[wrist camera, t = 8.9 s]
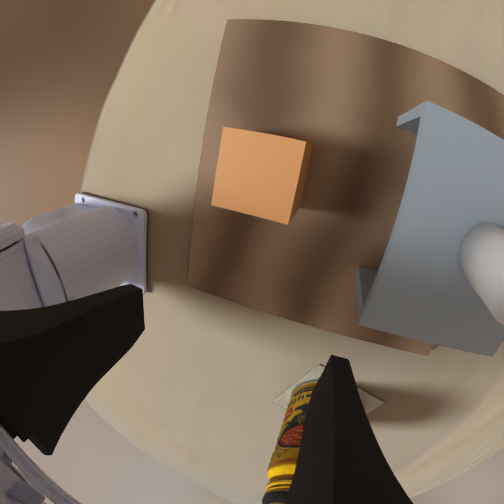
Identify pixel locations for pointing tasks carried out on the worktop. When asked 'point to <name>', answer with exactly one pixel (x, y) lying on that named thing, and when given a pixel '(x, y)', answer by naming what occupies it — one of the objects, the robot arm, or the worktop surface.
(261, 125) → the board
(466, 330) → the cover
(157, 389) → the worktop surface
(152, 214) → the worktop surface
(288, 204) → the block
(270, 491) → the condiment
